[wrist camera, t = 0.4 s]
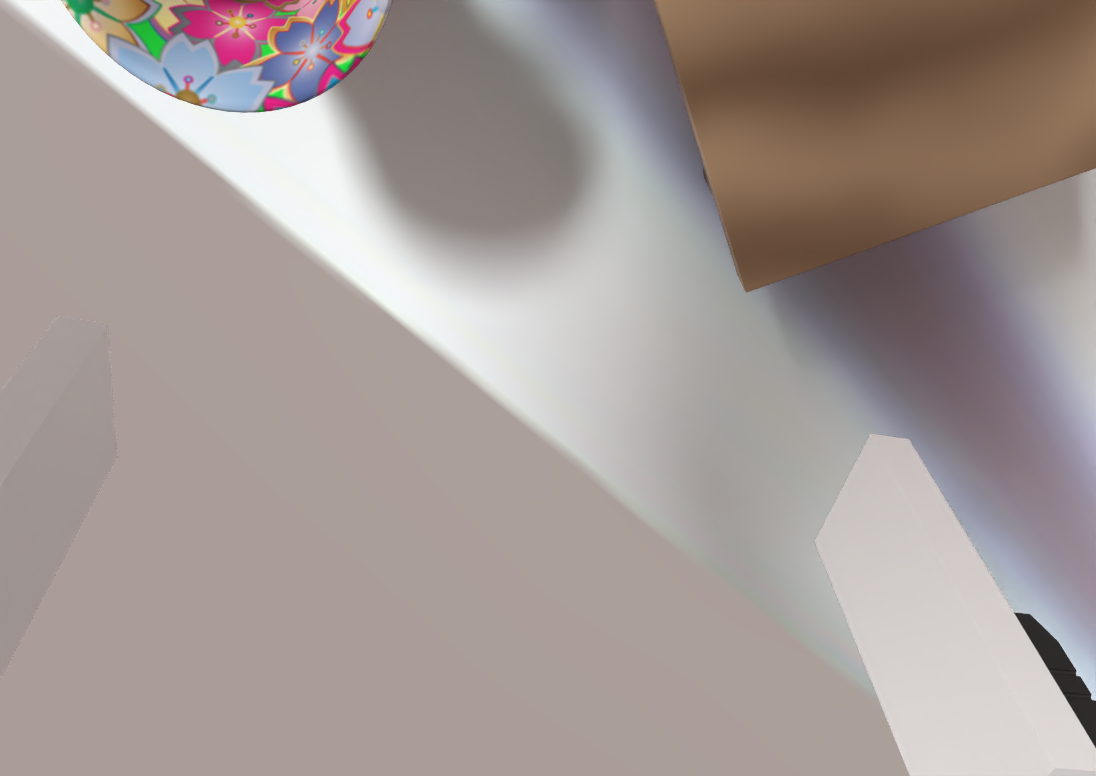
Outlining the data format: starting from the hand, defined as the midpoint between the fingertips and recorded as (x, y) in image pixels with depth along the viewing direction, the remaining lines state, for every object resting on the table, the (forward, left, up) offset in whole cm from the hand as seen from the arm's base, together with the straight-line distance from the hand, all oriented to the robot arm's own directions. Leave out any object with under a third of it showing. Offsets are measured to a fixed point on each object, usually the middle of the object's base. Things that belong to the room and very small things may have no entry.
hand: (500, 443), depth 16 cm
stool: (+2, +13, -24) cm, 27 cm away
